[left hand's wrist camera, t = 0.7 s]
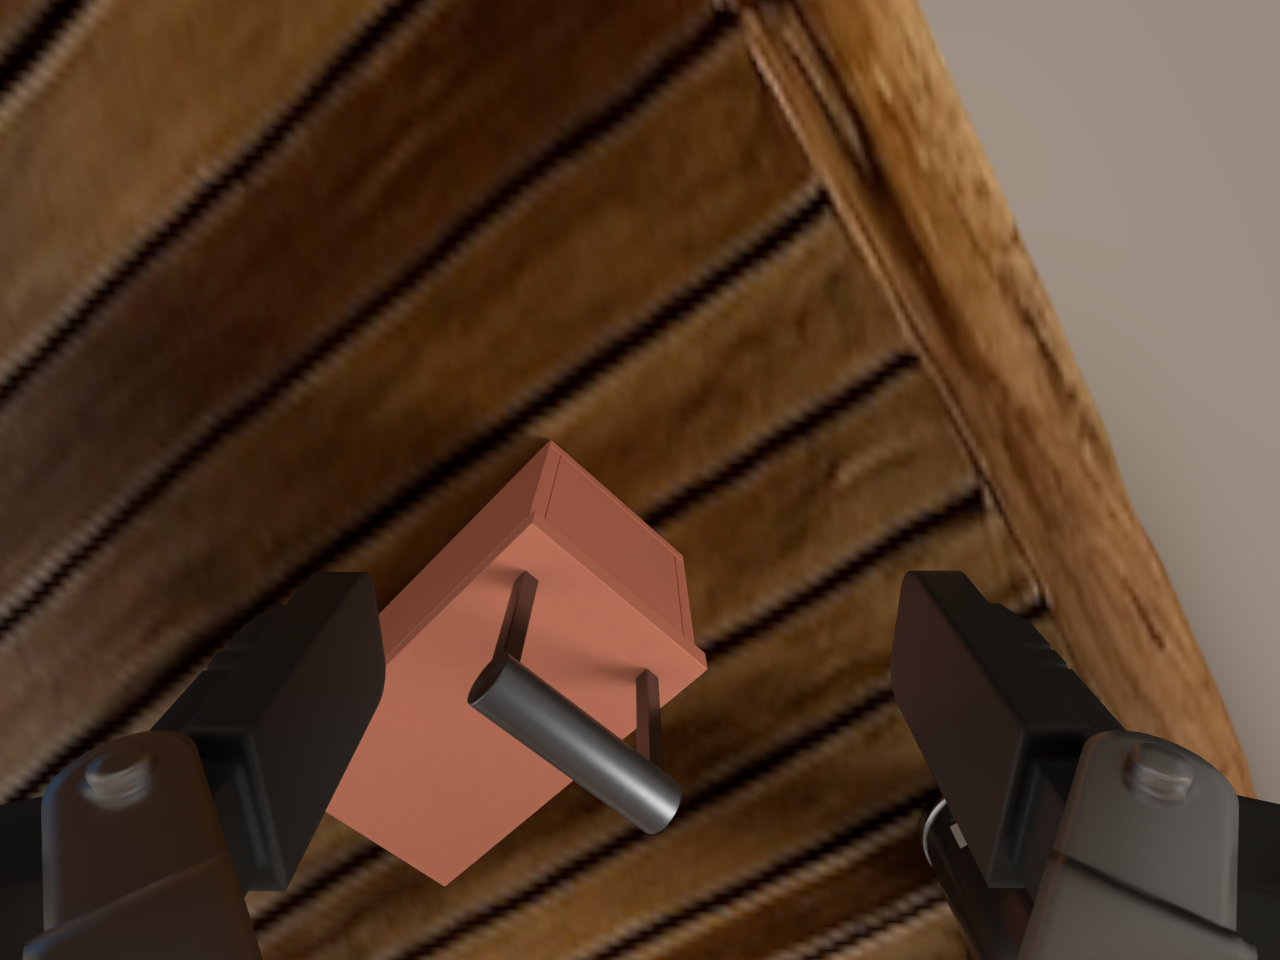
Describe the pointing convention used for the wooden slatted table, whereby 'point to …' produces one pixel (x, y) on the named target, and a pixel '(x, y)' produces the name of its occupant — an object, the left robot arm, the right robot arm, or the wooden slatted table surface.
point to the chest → (579, 516)
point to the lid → (517, 707)
